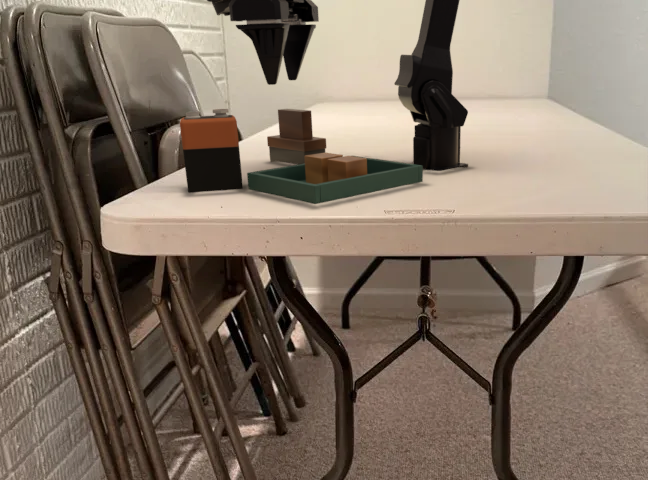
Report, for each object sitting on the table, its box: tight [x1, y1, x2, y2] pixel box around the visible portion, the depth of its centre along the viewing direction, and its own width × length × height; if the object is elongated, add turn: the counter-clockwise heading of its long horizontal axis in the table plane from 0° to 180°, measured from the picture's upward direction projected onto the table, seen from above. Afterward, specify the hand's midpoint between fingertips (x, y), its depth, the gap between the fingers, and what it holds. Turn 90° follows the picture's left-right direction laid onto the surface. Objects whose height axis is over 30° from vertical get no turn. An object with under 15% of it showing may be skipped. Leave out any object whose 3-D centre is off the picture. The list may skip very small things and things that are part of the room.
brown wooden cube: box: [304, 152, 344, 184], centre depth 92 cm, size 4×4×4 cm
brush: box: [266, 108, 327, 165], centre depth 109 cm, size 4×9×8 cm, turn 43°
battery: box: [179, 108, 244, 193], centre depth 90 cm, size 4×7×10 cm, turn 103°
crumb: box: [327, 155, 367, 182], centre depth 89 cm, size 4×4×4 cm
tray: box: [246, 155, 424, 205], centre depth 91 cm, size 18×14×2 cm
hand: (282, 82), depth 94 cm, fingers open, 9 cm apart
